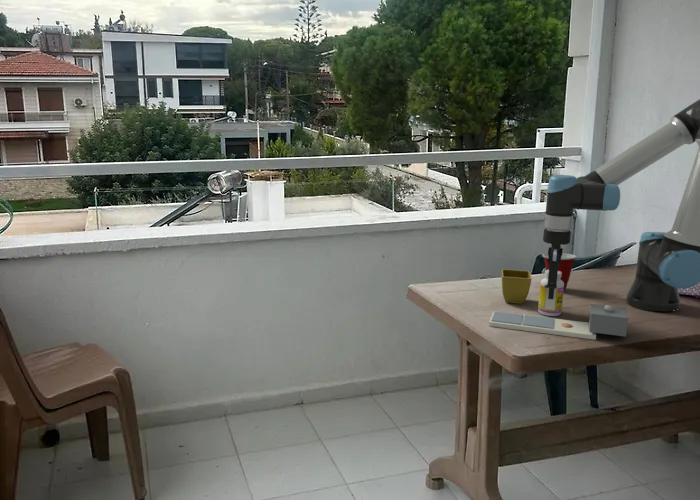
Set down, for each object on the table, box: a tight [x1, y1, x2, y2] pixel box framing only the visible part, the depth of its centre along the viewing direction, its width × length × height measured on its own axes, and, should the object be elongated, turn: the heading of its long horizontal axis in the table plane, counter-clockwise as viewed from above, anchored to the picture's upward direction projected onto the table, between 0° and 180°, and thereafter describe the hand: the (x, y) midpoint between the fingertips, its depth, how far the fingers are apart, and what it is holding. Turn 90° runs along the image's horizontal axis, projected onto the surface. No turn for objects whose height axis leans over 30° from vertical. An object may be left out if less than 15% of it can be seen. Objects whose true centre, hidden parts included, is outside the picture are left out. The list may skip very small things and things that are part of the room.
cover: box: [588, 303, 629, 337], centre depth 173 cm, size 9×9×6 cm
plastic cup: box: [542, 252, 577, 292], centre depth 214 cm, size 11×11×12 cm
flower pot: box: [501, 268, 533, 305], centre depth 201 cm, size 9×9×9 cm
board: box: [488, 310, 597, 341], centre depth 180 cm, size 28×10×2 cm, turn 71°
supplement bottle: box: [537, 269, 565, 317], centre depth 190 cm, size 7×7×13 cm
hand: (550, 305), depth 191 cm, fingers closed on supplement bottle, 7 cm apart
